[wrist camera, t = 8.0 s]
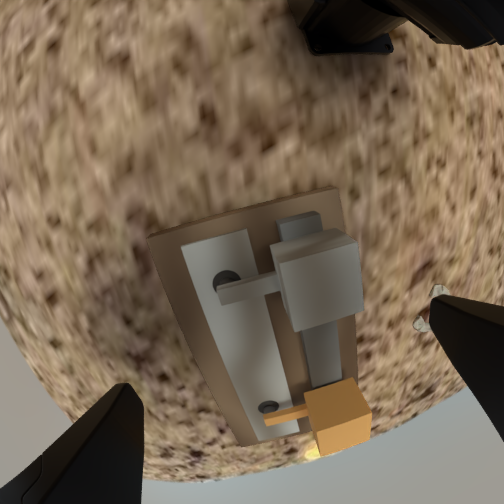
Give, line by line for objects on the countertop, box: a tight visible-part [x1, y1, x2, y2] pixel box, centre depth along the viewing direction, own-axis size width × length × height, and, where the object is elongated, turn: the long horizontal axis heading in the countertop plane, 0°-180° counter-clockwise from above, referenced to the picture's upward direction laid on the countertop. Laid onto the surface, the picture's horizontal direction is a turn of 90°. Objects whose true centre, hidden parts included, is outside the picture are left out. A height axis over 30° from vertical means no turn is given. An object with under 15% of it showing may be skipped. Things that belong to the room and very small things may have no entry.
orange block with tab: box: [263, 377, 372, 456], centre depth 19 cm, size 8×4×5 cm, turn 104°
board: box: [146, 186, 364, 447], centre depth 19 cm, size 12×22×5 cm, turn 14°
